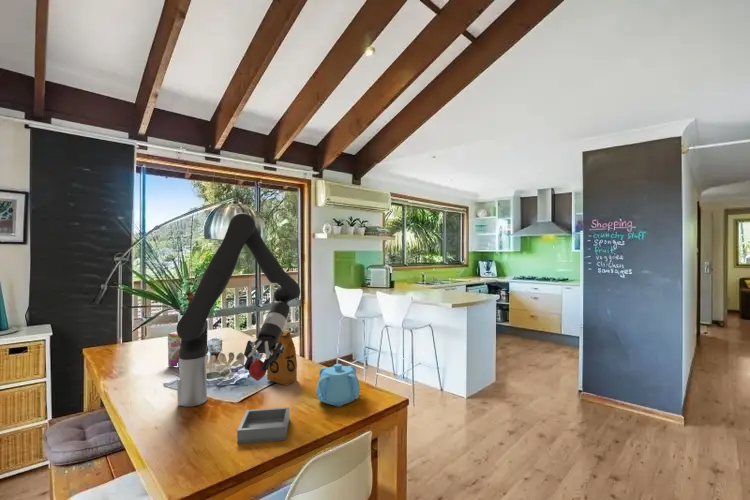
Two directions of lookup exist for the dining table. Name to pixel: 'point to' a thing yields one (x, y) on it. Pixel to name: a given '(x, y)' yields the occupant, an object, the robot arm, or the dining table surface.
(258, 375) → the onion
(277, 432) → the bin
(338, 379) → the decorative pot
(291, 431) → the dining table surface
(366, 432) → the dining table surface
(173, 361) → the candy bar box
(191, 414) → the dining table surface
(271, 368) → the coffee package
